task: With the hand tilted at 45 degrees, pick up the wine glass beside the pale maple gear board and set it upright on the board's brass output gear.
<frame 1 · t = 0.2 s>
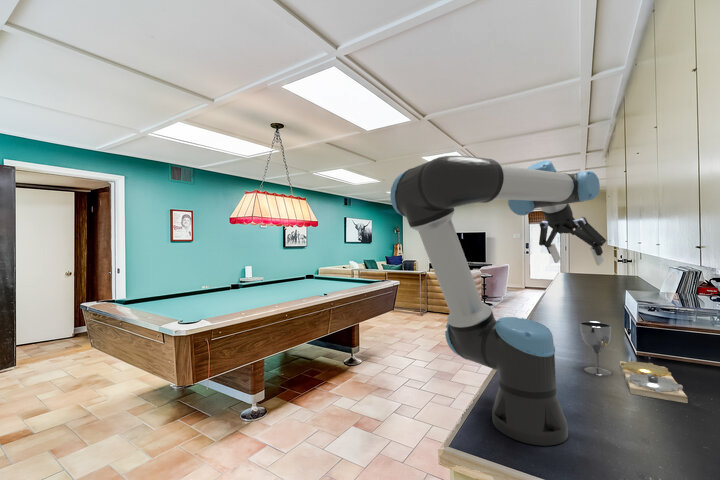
hand: (577, 261, 108), 35 cm above the table, tool tilted 35°, fingers open, 13 cm apart
wine glass: (597, 372, 103), on the table
gear board: (649, 381, 94), on the table
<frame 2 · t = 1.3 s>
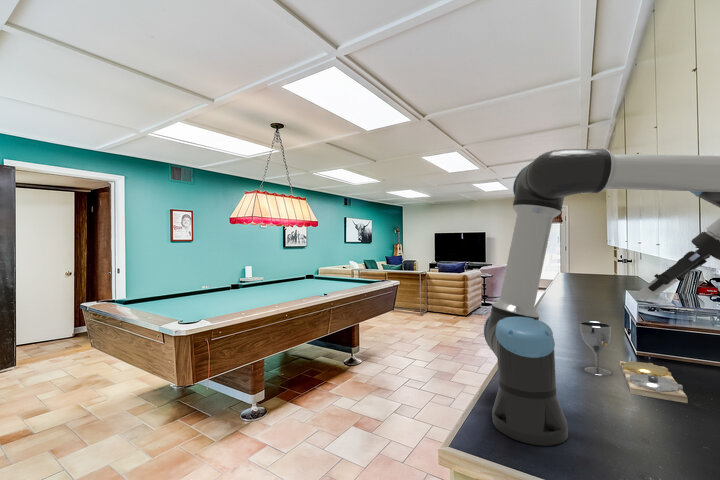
hand: (647, 294, 93), 26 cm above the table, tool tilted 45°, fingers open, 13 cm apart
nothing on the table moved.
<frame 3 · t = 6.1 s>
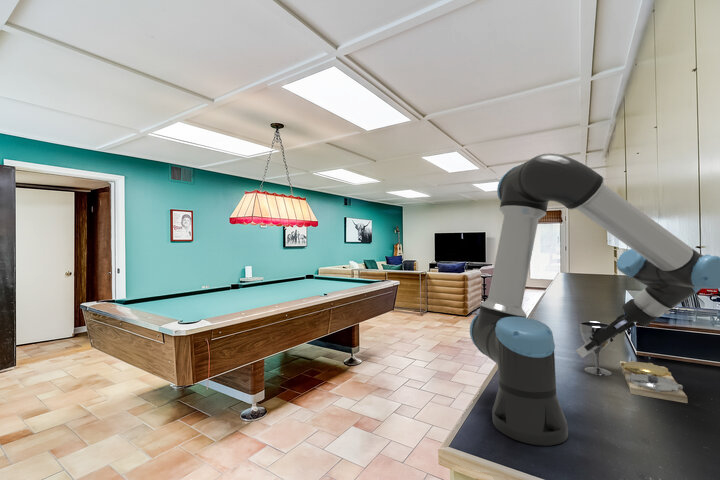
hand: (584, 351, 106), 6 cm above the table, tool tilted 45°, fingers closed on wine glass, 7 cm apart
wine glass: (597, 371, 103), on the table, touching gripper
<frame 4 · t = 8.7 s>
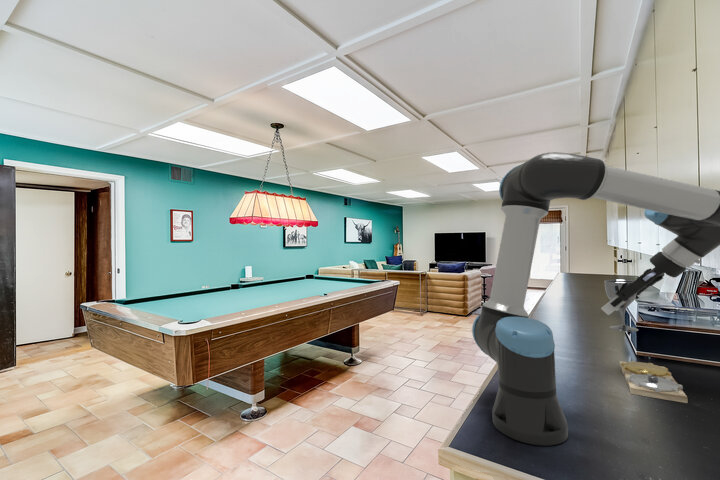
hand: (609, 309, 104), 19 cm above the table, tool tilted 45°, fingers closed on wine glass, 7 cm apart
wine glass: (623, 329, 101), point 14 cm above the table, touching gripper
when the fingers open (9 cm above the table, at t = 11.7 s): wine glass drops 1 cm, resting on gear board.
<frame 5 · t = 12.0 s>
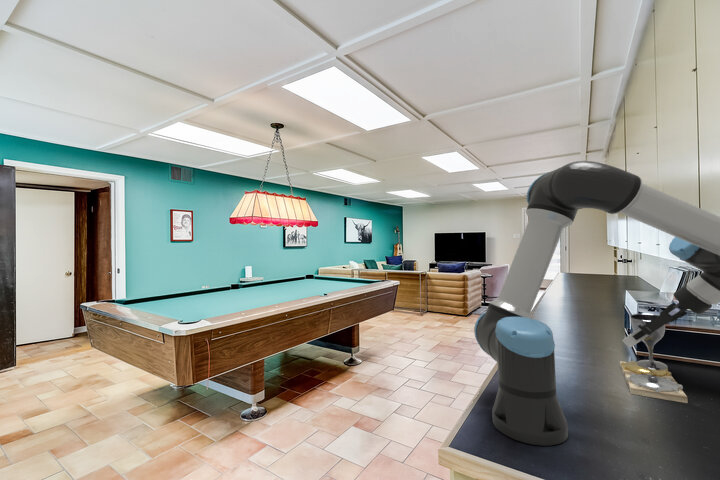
hand: (631, 340, 102), 10 cm above the table, tool tilted 45°, fingers open, 11 cm apart
wine glass: (652, 365, 100), point 2 cm above the table, touching gear board, gripper
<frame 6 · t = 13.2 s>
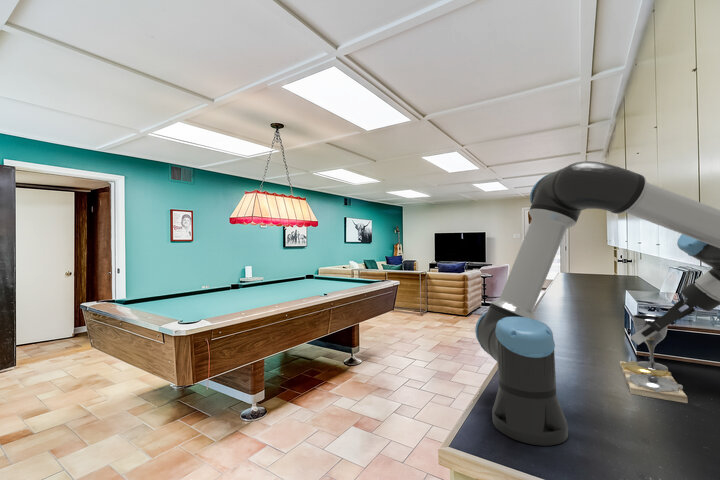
hand: (640, 336, 100), 11 cm above the table, tool tilted 45°, fingers open, 13 cm apart
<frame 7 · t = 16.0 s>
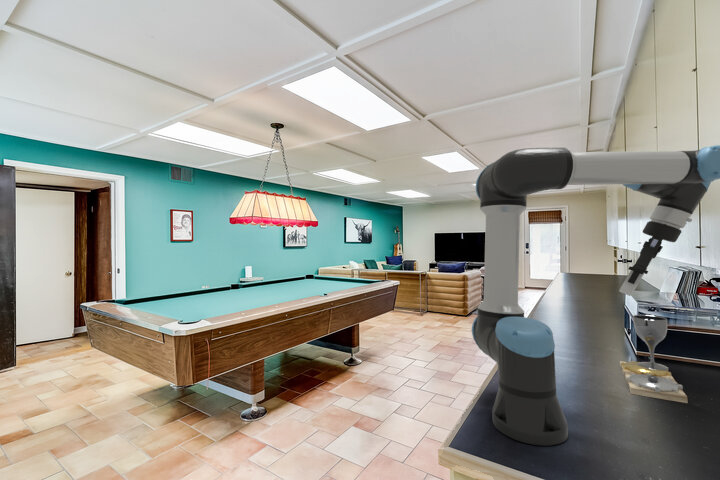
hand: (626, 292, 95), 26 cm above the table, tool tilted 25°, fingers open, 13 cm apart
wine glass: (652, 366, 100), point 2 cm above the table, touching gear board
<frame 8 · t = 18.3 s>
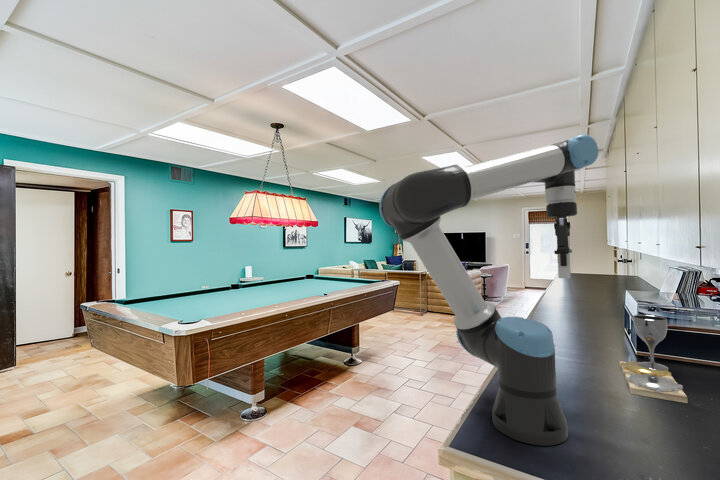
hand: (565, 276, 93), 32 cm above the table, tool pointing down, fingers open, 13 cm apart
nothing on the table moved.
at the end: wine glass 3.3 cm from the target spot on the gear board, point 2.1 cm above the gear board's base; wine glass tilted 0°; the gripper is holding nothing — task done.
